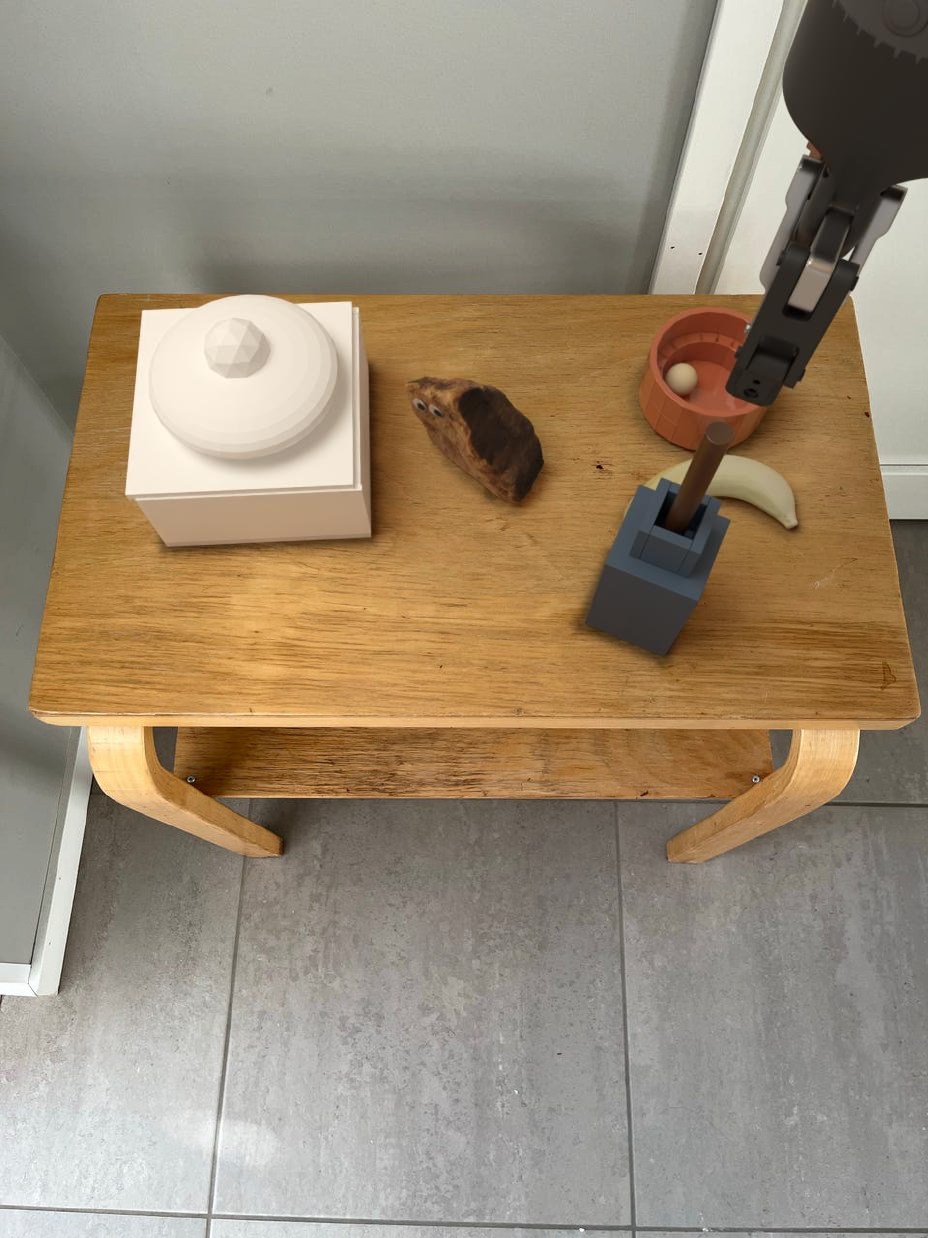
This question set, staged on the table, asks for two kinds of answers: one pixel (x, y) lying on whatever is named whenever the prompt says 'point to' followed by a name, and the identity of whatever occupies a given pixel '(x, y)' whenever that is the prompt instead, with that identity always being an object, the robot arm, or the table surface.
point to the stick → (699, 476)
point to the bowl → (710, 351)
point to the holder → (656, 570)
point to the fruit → (741, 486)
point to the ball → (681, 379)
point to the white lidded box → (252, 422)
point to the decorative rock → (479, 433)
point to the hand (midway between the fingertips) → (776, 323)
